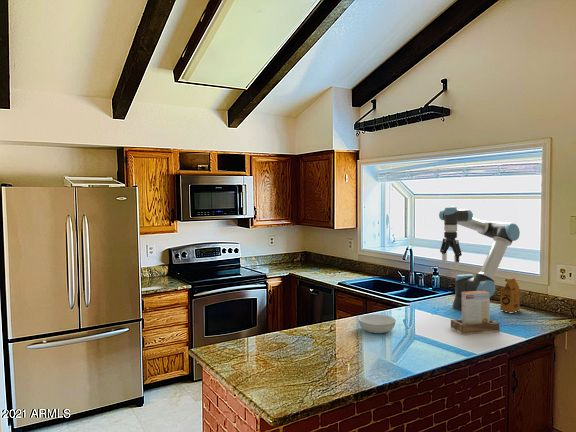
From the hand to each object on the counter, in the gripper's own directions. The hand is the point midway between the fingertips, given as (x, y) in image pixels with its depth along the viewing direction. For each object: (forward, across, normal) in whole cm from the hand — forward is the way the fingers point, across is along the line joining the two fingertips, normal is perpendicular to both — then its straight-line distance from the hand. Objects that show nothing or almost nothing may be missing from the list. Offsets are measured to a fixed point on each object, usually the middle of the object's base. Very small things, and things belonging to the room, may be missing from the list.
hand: (450, 265), depth 281 cm
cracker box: (+32, +28, -2) cm, 42 cm away
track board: (+33, +28, -2) cm, 43 cm away
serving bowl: (+33, +16, -56) cm, 67 cm away
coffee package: (+33, -4, +46) cm, 57 cm away
